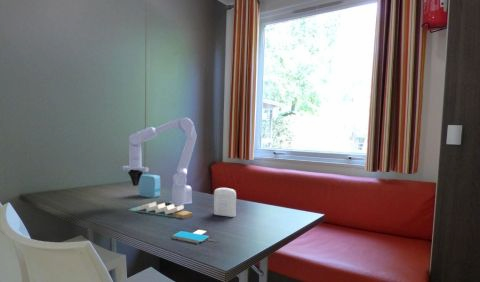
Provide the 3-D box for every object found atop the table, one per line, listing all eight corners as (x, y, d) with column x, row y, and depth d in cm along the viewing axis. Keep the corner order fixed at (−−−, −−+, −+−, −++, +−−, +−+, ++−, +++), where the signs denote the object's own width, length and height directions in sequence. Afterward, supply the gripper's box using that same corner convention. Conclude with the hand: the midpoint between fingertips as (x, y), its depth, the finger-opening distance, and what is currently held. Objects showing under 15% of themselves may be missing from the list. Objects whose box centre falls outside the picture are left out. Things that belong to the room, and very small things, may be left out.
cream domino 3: (154, 209, 133) (166, 206, 131) (161, 207, 138) (173, 203, 135) (155, 213, 133) (167, 210, 130) (162, 210, 138) (174, 207, 135)
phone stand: (225, 236, 108) (225, 232, 108) (209, 248, 98) (209, 243, 97) (180, 228, 117) (180, 224, 117) (160, 238, 106) (160, 234, 106)
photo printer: (237, 215, 133) (237, 187, 133) (234, 217, 129) (234, 189, 128) (215, 212, 136) (216, 186, 136) (212, 215, 132) (212, 188, 132)
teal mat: (128, 210, 138) (128, 209, 138) (138, 206, 145) (138, 206, 145) (178, 218, 127) (178, 217, 127) (187, 214, 134) (187, 213, 134)
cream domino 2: (145, 208, 135) (157, 205, 133) (153, 205, 140) (164, 202, 137) (146, 211, 135) (158, 208, 132) (154, 209, 140) (165, 206, 137)
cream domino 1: (137, 207, 137) (148, 204, 135) (144, 204, 142) (155, 201, 139) (138, 210, 137) (149, 207, 134) (145, 207, 142) (156, 204, 139)
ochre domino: (172, 212, 129) (184, 215, 125) (181, 209, 133) (192, 212, 129) (172, 216, 129) (184, 219, 125) (181, 213, 133) (192, 216, 129)
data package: (160, 196, 166) (160, 175, 166) (154, 198, 162) (154, 176, 162) (144, 194, 172) (144, 173, 171) (138, 195, 168) (138, 174, 167)
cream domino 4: (164, 211, 131) (176, 207, 129) (171, 208, 136) (183, 204, 133) (165, 214, 131) (177, 210, 128) (172, 211, 136) (184, 208, 133)
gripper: (117, 157, 144) (118, 185, 144) (141, 159, 138) (141, 188, 139) (128, 156, 150) (128, 183, 151) (151, 158, 144) (151, 185, 145)
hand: (135, 185), depth 145 cm, fingers closed
